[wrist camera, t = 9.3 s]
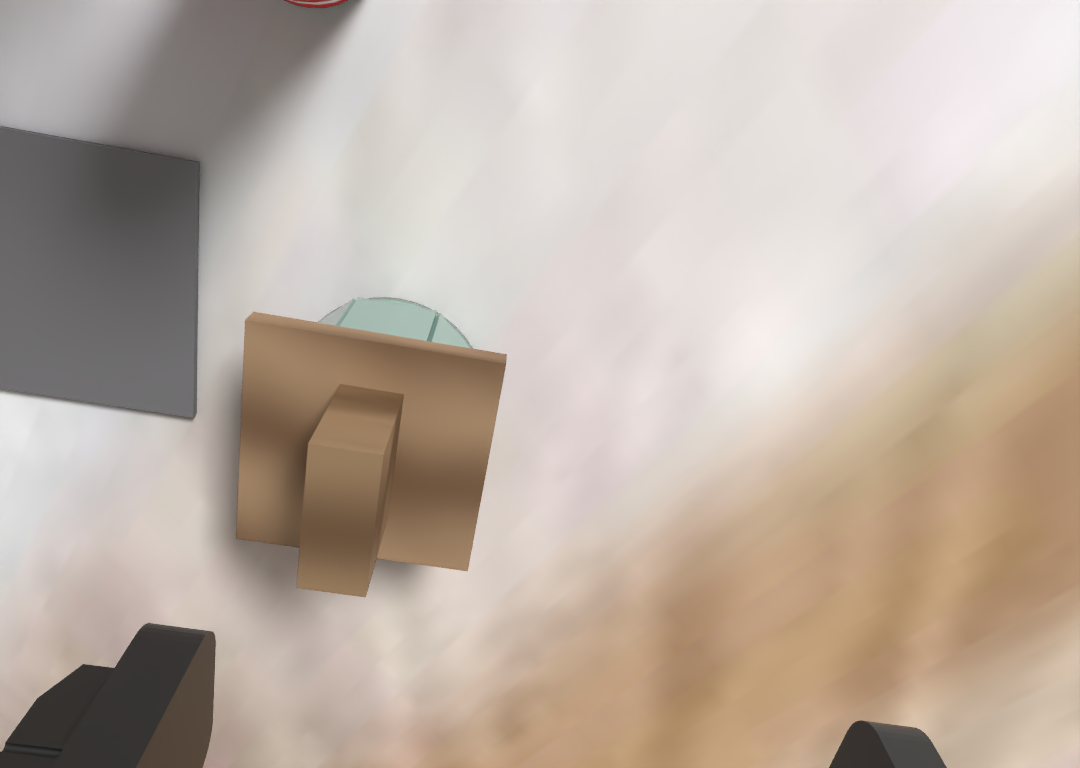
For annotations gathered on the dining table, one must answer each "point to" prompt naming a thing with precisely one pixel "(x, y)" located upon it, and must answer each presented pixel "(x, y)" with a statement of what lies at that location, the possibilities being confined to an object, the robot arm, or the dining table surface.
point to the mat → (98, 273)
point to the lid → (362, 448)
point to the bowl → (396, 320)
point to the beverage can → (316, 3)
